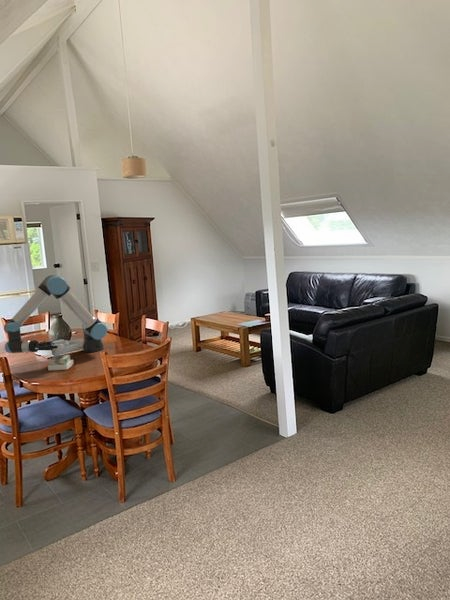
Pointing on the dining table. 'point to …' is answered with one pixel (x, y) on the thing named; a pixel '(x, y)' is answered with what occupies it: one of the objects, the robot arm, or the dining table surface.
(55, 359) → the tower top slab
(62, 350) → the medicine box
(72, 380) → the dining table surface
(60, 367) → the tower base slab
